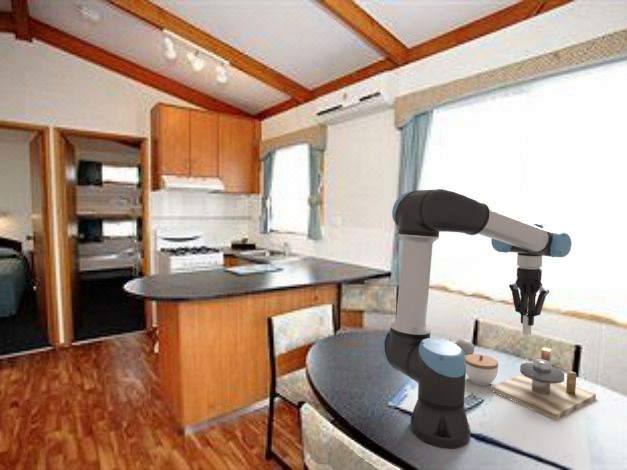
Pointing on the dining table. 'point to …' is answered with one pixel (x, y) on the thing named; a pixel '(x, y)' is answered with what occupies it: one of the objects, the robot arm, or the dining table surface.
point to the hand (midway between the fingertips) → (526, 333)
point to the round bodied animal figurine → (465, 346)
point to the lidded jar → (481, 369)
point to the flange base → (545, 394)
